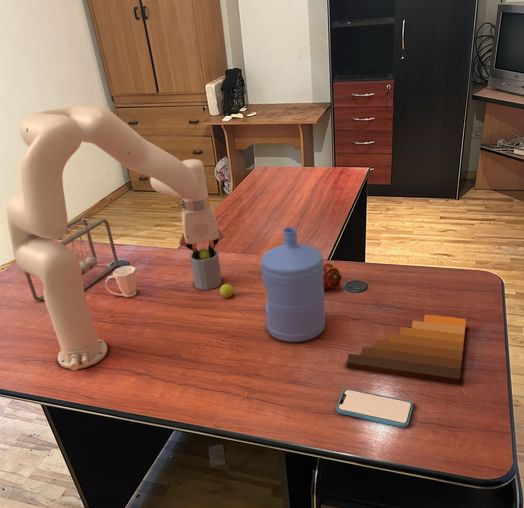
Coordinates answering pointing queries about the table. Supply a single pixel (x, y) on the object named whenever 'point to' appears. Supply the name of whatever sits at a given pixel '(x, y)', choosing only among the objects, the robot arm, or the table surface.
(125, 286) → the cup
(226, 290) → the plum
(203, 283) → the tumbler
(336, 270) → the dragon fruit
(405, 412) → the smartphone
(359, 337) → the table surface
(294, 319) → the water jug
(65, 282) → the robot arm
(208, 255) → the plum
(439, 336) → the pan flute
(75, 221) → the newton's cradle
